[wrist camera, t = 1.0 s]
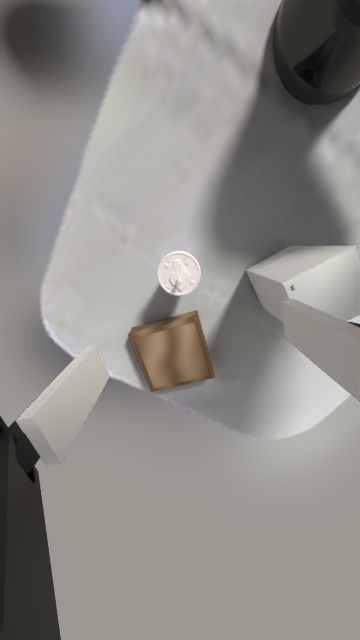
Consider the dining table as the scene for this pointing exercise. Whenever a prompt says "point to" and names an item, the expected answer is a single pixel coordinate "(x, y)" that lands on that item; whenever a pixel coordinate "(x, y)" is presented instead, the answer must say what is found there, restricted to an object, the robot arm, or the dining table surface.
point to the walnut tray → (172, 351)
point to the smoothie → (178, 273)
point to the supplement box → (310, 279)
